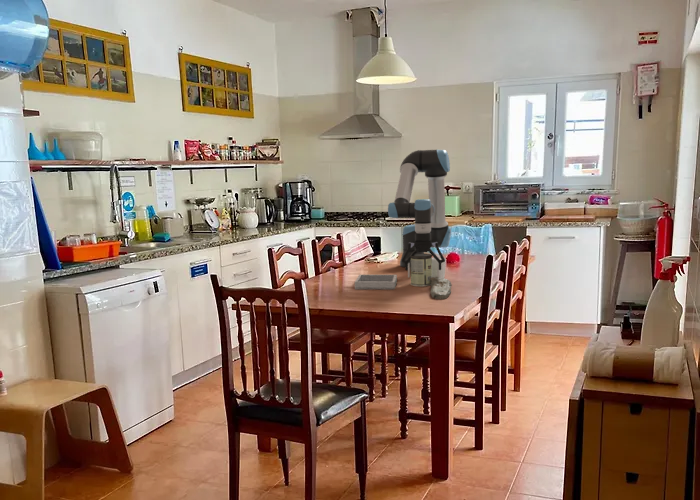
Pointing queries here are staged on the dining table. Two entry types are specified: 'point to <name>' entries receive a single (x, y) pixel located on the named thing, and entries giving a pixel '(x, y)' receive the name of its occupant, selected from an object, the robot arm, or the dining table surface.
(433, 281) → the elongated rock
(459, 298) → the dining table surface
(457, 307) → the dining table surface
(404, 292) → the dining table surface
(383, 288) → the square holder
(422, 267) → the coffee can
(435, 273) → the white cup
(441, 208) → the robot arm
